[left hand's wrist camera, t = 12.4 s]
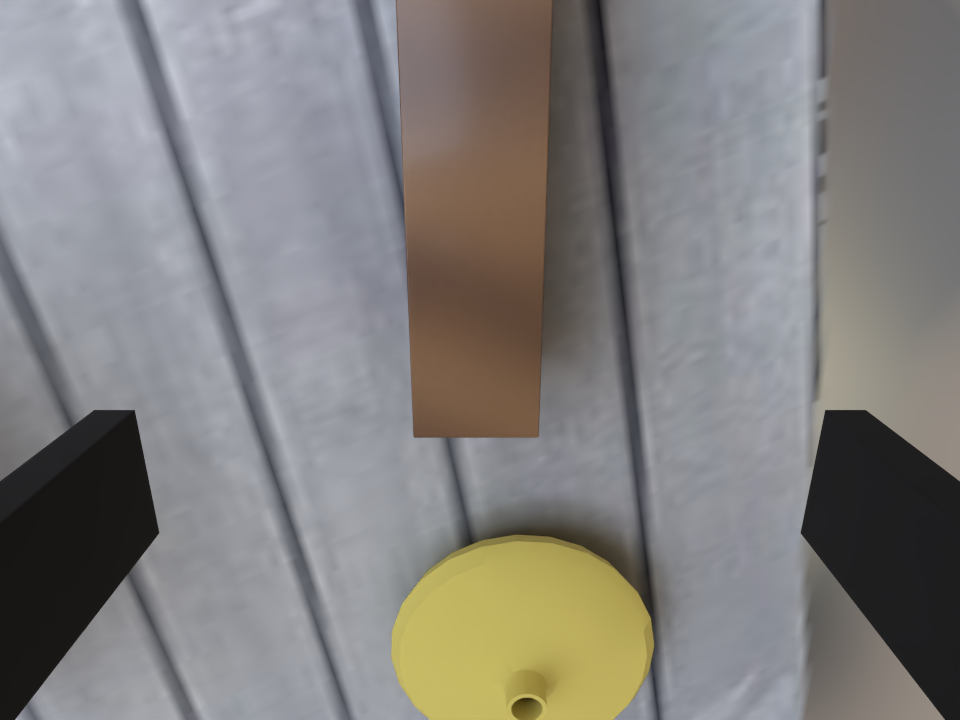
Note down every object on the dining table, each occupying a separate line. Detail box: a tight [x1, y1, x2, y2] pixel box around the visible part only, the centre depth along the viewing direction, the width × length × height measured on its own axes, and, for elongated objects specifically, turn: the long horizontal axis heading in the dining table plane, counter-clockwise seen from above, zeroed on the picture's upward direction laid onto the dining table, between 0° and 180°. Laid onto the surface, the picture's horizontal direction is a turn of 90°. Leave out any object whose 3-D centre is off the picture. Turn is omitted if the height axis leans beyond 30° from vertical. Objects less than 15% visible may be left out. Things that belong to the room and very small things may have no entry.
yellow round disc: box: [391, 535, 654, 720], centre depth 39 cm, size 16×16×7 cm
